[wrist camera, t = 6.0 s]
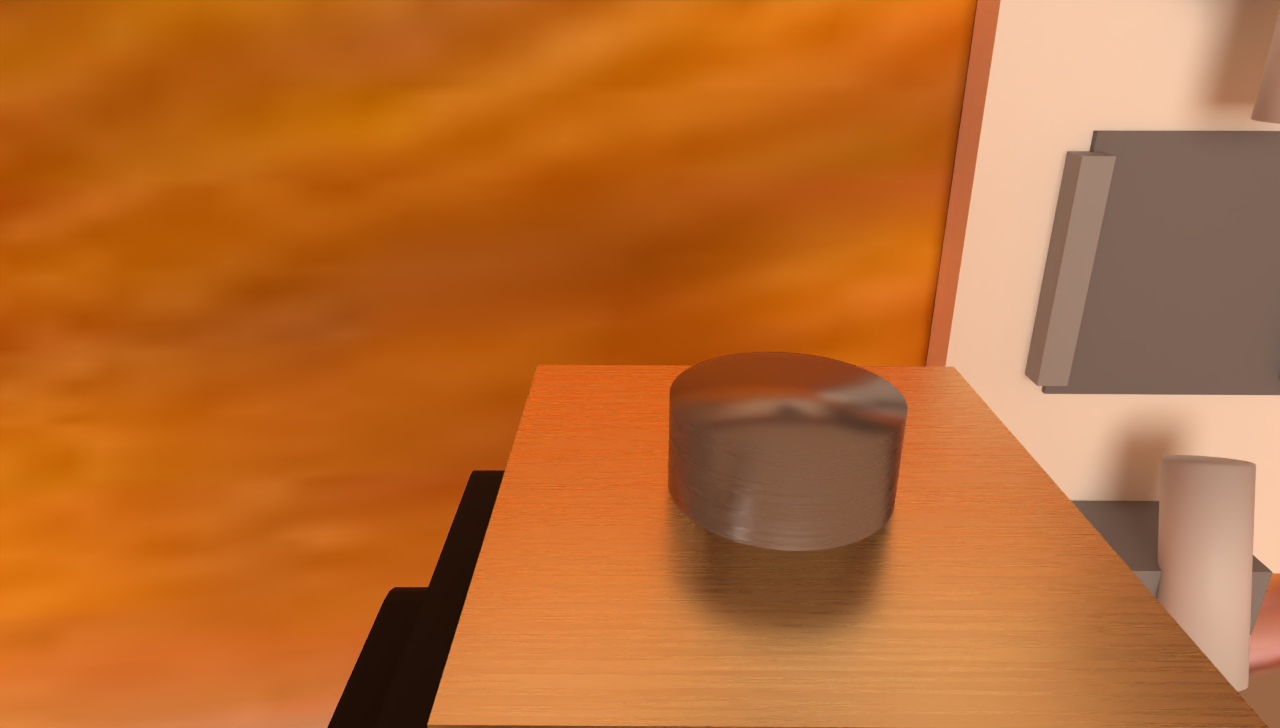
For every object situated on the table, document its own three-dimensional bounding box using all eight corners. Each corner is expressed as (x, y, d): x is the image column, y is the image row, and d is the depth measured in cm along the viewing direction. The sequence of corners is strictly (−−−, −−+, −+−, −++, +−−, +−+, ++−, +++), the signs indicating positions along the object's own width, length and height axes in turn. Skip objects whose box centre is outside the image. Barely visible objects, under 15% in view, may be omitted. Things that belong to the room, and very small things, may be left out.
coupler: (534, 294, 9) (412, 603, 4) (966, 295, 9) (1318, 607, 4) (556, 762, 11) (496, 1275, 7) (891, 764, 11) (1060, 1280, 7)
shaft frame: (997, -142, 20) (1159, -215, 14) (1513, -141, 20) (1919, -216, 13) (899, 550, 27) (975, 711, 21) (1274, 552, 27) (1464, 715, 21)
